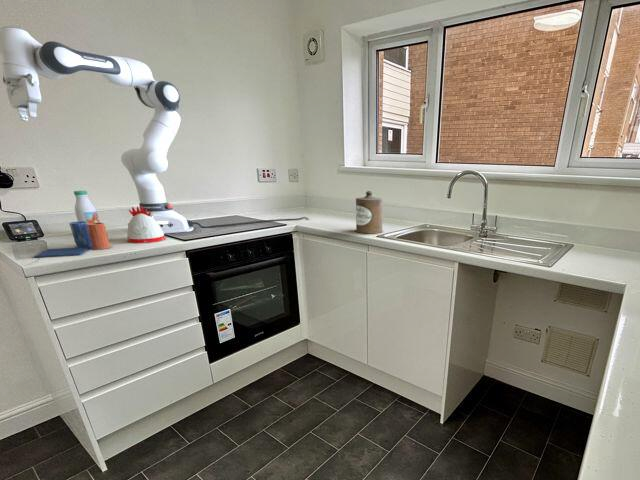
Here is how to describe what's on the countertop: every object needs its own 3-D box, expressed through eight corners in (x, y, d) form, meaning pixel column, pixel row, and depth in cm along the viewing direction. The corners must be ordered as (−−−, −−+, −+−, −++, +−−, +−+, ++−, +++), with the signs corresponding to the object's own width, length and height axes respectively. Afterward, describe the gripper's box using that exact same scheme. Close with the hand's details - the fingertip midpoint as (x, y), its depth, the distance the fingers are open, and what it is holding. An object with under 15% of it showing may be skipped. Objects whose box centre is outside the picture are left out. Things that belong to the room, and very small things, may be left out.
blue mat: (90, 248, 143) (89, 246, 143) (79, 255, 133) (79, 253, 133) (48, 250, 138) (48, 249, 138) (34, 257, 128) (34, 256, 128)
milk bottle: (82, 236, 163) (68, 191, 155) (81, 233, 168) (68, 190, 161) (103, 234, 167) (91, 191, 160) (102, 232, 173) (90, 190, 166)
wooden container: (351, 230, 200) (350, 190, 192) (371, 228, 209) (371, 189, 201) (366, 234, 190) (366, 192, 182) (387, 232, 199) (388, 191, 191)
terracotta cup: (112, 246, 148) (105, 222, 144) (108, 249, 143) (101, 224, 139) (95, 246, 146) (88, 222, 142) (91, 249, 141) (83, 224, 137)
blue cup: (96, 244, 149) (89, 221, 145) (91, 247, 144) (84, 223, 141) (79, 245, 147) (72, 221, 143) (74, 248, 142) (66, 223, 138)
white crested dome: (133, 237, 165) (125, 204, 159) (167, 236, 170) (160, 204, 164) (124, 243, 153) (115, 208, 147) (161, 242, 158) (153, 208, 152)
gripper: (43, 75, 125) (50, 117, 128) (25, 86, 136) (31, 124, 138) (18, 68, 120) (25, 111, 123) (1, 80, 130) (8, 120, 133)
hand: (28, 118), depth 131 cm, fingers open, 8 cm apart
